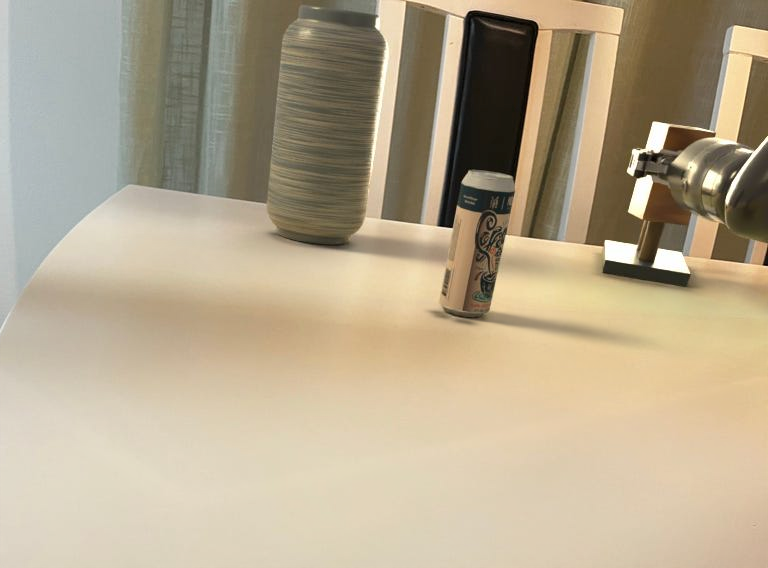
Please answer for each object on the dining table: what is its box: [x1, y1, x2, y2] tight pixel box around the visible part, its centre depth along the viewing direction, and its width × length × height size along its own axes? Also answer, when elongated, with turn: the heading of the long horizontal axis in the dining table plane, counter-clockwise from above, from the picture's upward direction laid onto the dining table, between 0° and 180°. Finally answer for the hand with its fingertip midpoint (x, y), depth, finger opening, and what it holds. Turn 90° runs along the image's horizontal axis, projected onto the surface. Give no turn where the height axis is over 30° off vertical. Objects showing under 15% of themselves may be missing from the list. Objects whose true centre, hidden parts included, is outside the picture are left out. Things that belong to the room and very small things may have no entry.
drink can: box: [438, 169, 516, 318], centre depth 92 cm, size 5×5×12 cm
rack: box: [601, 220, 692, 287], centre depth 123 cm, size 10×16×14 cm, turn 165°
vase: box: [266, 4, 390, 246], centre depth 113 cm, size 12×12×23 cm
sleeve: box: [627, 121, 717, 227], centre depth 118 cm, size 6×6×10 cm
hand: (665, 162), depth 120 cm, fingers closed on sleeve, 5 cm apart
